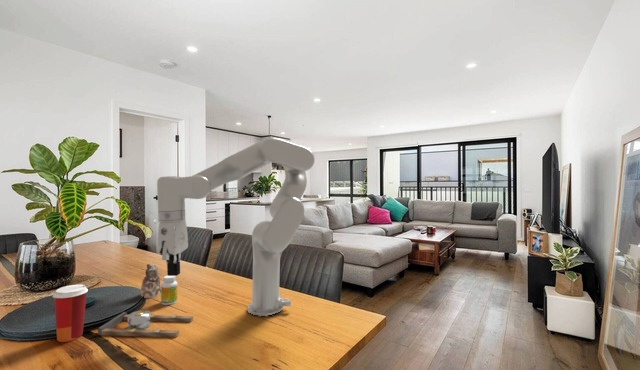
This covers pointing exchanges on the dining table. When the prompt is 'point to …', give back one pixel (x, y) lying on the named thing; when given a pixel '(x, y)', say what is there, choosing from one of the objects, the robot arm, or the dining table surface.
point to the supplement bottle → (169, 290)
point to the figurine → (151, 283)
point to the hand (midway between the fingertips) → (173, 274)
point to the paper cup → (70, 312)
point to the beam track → (136, 332)
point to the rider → (139, 320)
